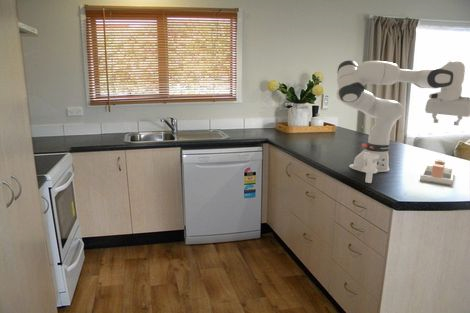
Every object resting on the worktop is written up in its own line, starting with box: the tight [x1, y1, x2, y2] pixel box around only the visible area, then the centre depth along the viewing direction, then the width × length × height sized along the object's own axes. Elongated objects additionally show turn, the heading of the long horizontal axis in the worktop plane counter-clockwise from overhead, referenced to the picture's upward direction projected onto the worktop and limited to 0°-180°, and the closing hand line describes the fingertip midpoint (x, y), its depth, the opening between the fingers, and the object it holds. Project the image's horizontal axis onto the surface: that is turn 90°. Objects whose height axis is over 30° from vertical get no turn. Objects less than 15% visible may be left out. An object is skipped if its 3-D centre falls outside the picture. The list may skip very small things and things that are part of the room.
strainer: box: [362, 152, 379, 184], centre depth 175 cm, size 7×7×15 cm
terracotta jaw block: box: [431, 163, 446, 178], centre depth 181 cm, size 4×4×7 cm
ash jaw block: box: [434, 159, 446, 166], centre depth 191 cm, size 4×4×7 cm
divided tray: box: [419, 164, 455, 187], centre depth 186 cm, size 25×14×3 cm, turn 147°
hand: (445, 124), depth 175 cm, fingers open, 8 cm apart
